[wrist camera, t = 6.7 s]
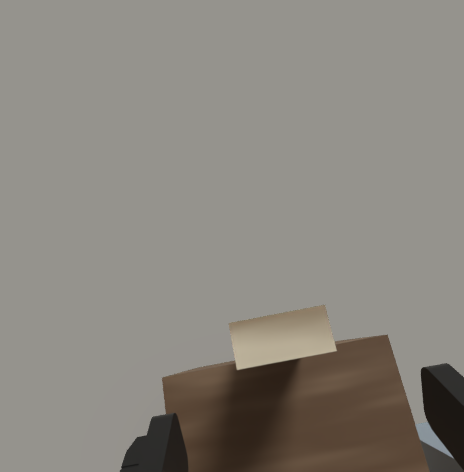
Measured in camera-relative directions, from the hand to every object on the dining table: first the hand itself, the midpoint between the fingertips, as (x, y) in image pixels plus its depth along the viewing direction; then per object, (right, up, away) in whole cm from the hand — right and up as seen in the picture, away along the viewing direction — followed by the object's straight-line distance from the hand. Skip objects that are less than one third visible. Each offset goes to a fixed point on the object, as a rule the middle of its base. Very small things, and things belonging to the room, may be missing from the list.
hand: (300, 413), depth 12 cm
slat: (0, -2, +12) cm, 12 cm away
